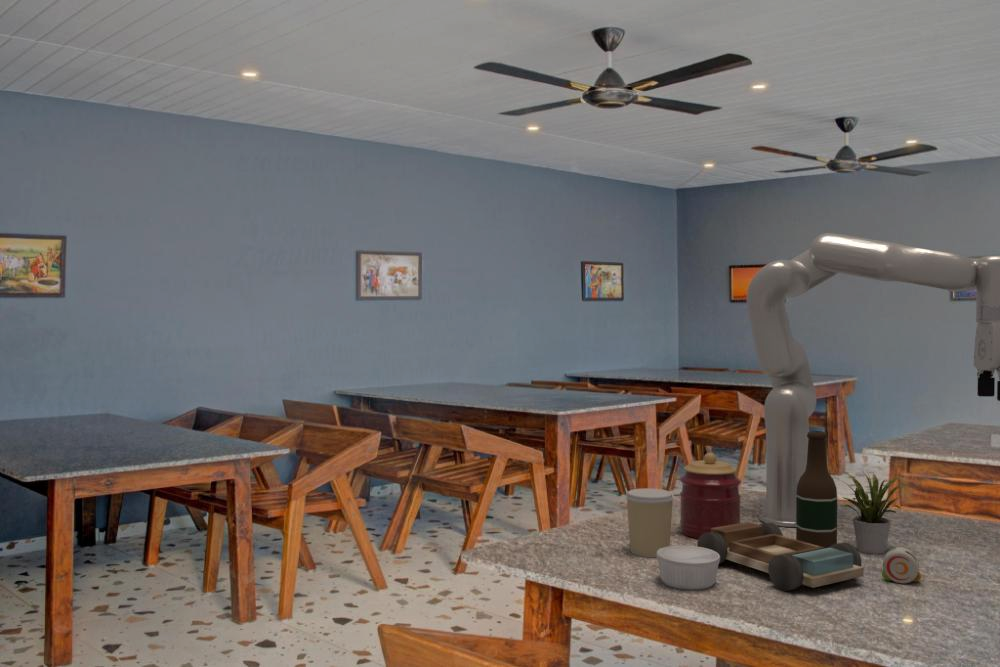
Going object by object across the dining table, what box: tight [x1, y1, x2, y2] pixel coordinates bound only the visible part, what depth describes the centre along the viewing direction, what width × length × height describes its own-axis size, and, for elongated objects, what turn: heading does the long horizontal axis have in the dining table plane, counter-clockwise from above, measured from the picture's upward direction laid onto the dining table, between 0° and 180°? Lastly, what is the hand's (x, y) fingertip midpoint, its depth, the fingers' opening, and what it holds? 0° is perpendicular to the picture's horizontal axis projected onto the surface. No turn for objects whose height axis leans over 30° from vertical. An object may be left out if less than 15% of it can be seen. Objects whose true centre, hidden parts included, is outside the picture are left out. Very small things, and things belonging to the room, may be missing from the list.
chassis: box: [696, 521, 865, 592], centre depth 165 cm, size 28×17×6 cm, turn 30°
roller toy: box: [881, 546, 922, 584], centre depth 158 cm, size 4×6×6 cm
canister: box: [679, 452, 742, 539], centre depth 192 cm, size 13×13×18 cm
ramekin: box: [655, 545, 720, 591], centre depth 158 cm, size 11×11×5 cm
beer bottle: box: [795, 430, 838, 548], centre depth 179 cm, size 8×8×24 cm
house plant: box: [837, 470, 912, 555], centre depth 178 cm, size 14×14×16 cm
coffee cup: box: [625, 487, 674, 558], centre depth 178 cm, size 9×9×12 cm
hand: (995, 398), depth 182 cm, fingers open, 9 cm apart
